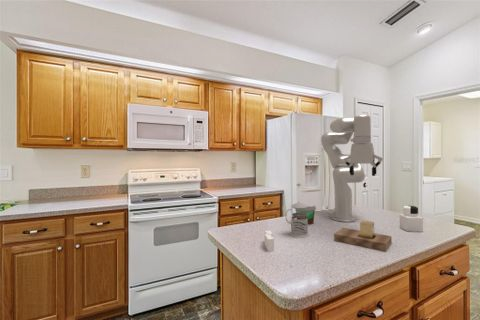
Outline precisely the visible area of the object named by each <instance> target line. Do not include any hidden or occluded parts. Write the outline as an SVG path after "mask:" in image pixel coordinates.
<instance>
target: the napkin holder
mask: <svg viewBox="0 0 480 320" xmlns="http://www.w3.org/2000/svg"><path fill="white" fill-rule="evenodd" d="M265 246H266V247H265ZM264 247H265V248H266V250H267V251H268V252H275V239H274V236H273V232H272V231H271V230H265V231H264Z"/></svg>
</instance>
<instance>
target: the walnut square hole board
mask: <svg viewBox="0 0 480 320" xmlns="http://www.w3.org/2000/svg"><path fill="white" fill-rule="evenodd" d="M333 236H334V237H333V238H334V239H333V240H334V242H339V243H344V244H349V245H353V246H357V247H363V248H366V249H367V248H368V249H372V250H378V251H382V252H387V251H388V249H389V248H390V246H391V245H392V244H393V243H392V239H393V237H392V236H391V235H387V234H381V233H375V232H374V239H369V238H364V237H360V229H351V228H348V227H347V228H346V227H342V228H340V229H339V230H338V231H336V232H335V233H333Z"/></svg>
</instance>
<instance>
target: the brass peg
mask: <svg viewBox="0 0 480 320" xmlns="http://www.w3.org/2000/svg"><path fill="white" fill-rule="evenodd" d="M359 231H360V237H364V238H369V239H374V233H375V222H374V221H369V220H363V219H362V220H361V221H360V222H359Z"/></svg>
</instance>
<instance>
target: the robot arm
mask: <svg viewBox="0 0 480 320" xmlns="http://www.w3.org/2000/svg"><path fill="white" fill-rule="evenodd" d="M371 123H372V122H371V116H370V115H368V114H360V115H356V116H353V117H342V118H336V119H335V120H332V121H331V123H330V124H329V129H330V130H331V131H329V132H325V133H323V134H322V135H321V139H320V141H321V145H322V148H323V151H324V152H325V153H326V155H327V156H328V159H329V162H330V165H331V167H332V168H333V169H332V179H333V185H334V187H333V188H334V210H333V211H332V210H328V212H327V213H328V215H332V217H331V218H332V220H334V221H337V222H341V223H342V222H343V223H352V222H355V221H356V218H355V217H354V216H353V196H352V195H353V192H352V191H353V190H352V188H351V187H350V186H349V185H348V184H349V183H350V184H354V183H355V184H356V183H357V184H358V183H362V182H364V180H365V177H366V174H365V171H364V169H363V167H362V165H364V164H366V165H367V164H370V165H371V166H372V167H371V176H372V177H375V176H376V175H377V168H378V167H379V165H381V164H382V162H383V160H384V158H383V157H381V156H378V155H377V154H375V150H374V149H375V148H374V145H373V142H372V139H371V138H372V134H371V133H372V131H371V130H372V129H371V128H372V127H371V126H372V125H371ZM350 142H352V143H351V148H350V154H343V153H342V150H341V148H339V146H336V145H347V144H348V143H350ZM375 159H376V160H377V162H376V163H375ZM361 164H362V165H361Z"/></svg>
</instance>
